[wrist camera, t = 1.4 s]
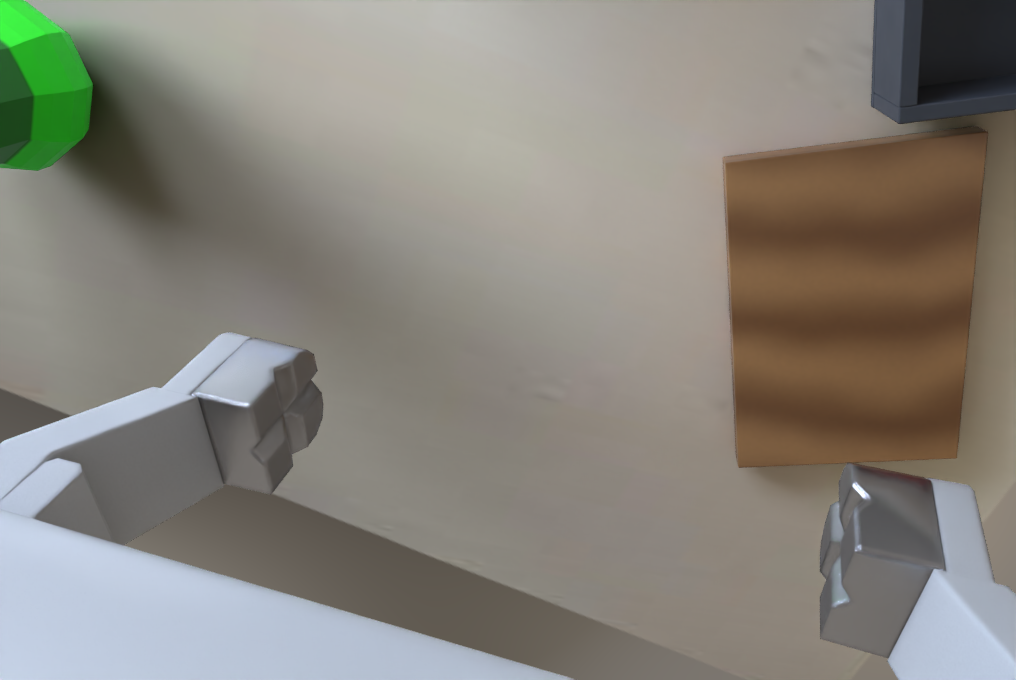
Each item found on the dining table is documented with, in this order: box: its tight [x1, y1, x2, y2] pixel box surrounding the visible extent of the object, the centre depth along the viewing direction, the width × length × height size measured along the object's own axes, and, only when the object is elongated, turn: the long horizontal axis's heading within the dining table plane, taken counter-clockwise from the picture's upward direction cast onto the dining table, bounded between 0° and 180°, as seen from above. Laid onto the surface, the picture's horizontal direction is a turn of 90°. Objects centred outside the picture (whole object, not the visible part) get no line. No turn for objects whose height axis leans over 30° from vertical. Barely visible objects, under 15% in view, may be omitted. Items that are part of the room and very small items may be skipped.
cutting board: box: [723, 126, 988, 468], centre depth 46 cm, size 20×13×2 cm, turn 9°
